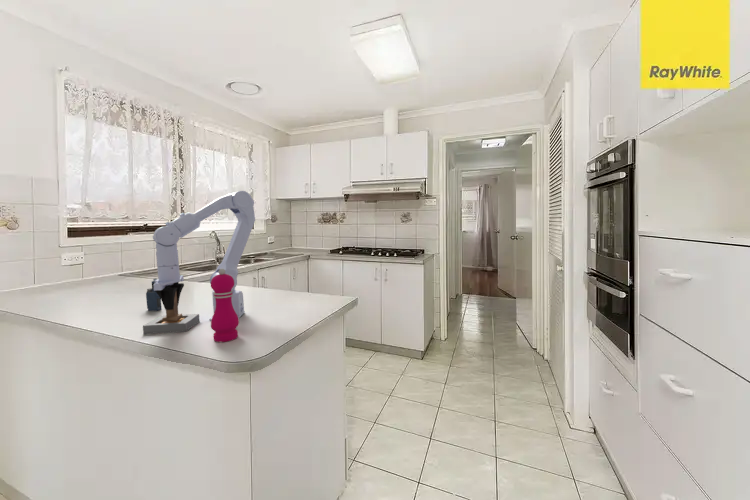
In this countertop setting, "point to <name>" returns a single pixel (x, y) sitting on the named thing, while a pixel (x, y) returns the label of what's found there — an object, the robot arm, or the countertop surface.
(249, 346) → the countertop surface
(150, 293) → the vaping device
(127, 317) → the countertop surface
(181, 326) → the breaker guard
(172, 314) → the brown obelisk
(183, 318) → the button
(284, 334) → the countertop surface
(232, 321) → the pepper mill
